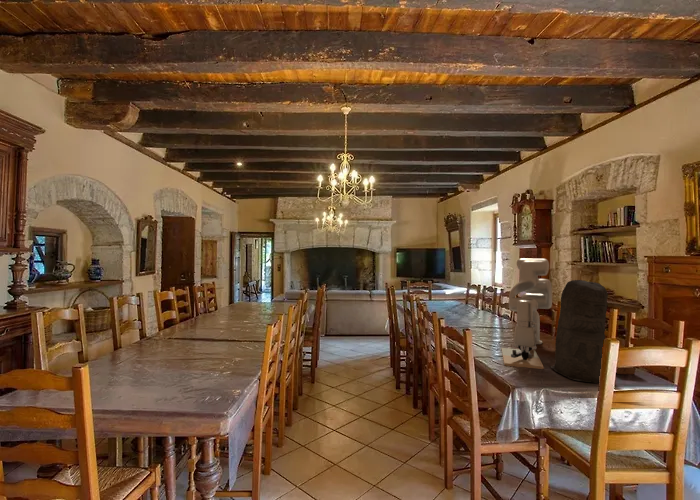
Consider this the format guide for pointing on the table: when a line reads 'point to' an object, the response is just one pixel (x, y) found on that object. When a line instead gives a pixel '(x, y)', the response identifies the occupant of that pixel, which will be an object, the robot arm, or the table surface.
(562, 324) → the stone sculpture
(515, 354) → the swing bar
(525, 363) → the door and jamb board
